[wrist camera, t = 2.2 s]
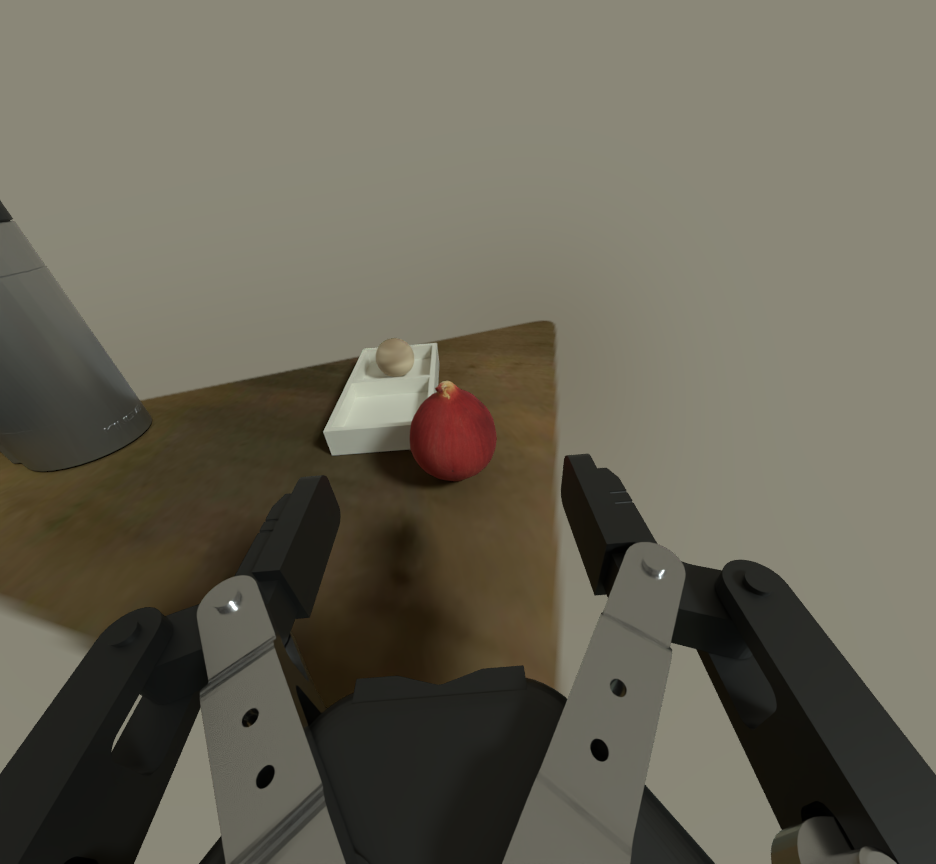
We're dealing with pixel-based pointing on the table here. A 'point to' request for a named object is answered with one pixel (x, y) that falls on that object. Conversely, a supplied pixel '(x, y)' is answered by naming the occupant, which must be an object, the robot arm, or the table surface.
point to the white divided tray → (381, 404)
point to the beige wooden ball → (394, 357)
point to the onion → (452, 434)
